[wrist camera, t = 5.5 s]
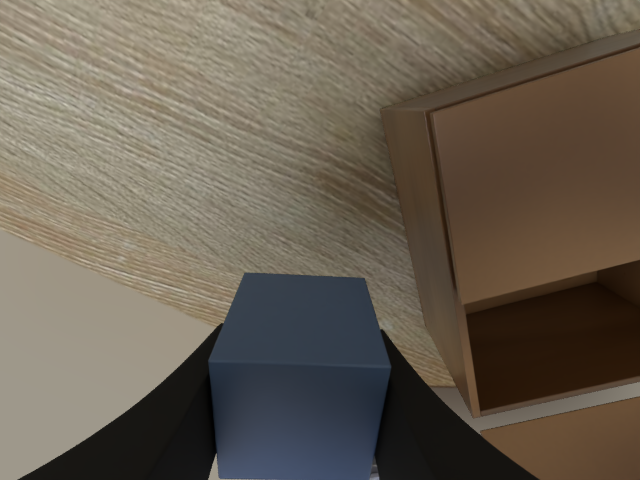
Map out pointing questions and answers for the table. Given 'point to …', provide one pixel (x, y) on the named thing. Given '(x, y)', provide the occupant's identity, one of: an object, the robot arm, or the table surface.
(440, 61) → the table surface
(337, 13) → the table surface
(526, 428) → the flap
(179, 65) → the table surface
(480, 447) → the robot arm
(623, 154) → the carton
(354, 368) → the block
